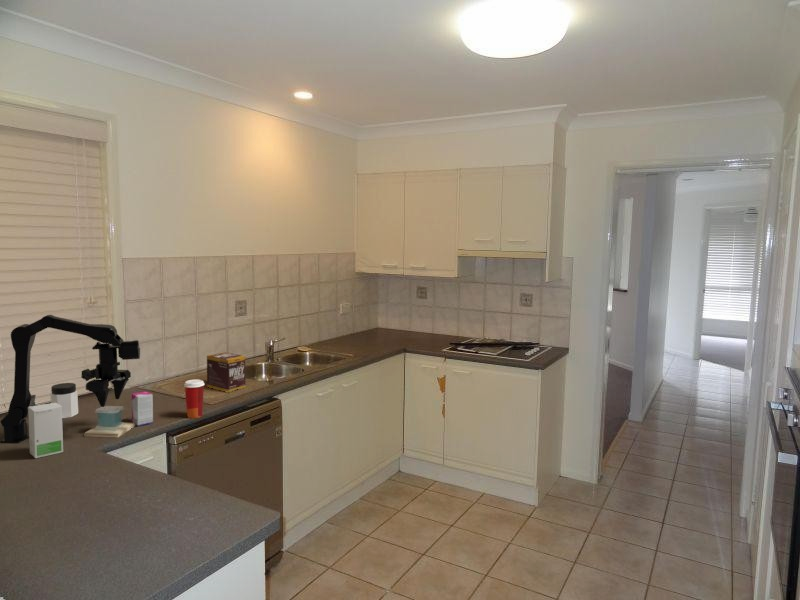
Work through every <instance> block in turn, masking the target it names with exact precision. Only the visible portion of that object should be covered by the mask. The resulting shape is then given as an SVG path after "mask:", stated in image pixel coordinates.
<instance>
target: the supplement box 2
mask: <svg viewBox="0 0 800 600" xmlns="http://www.w3.org/2000/svg"><path fill="white" fill-rule="evenodd" d="M208 387H209V388H208ZM243 387H247V386H246V356H245V355H241V354H238V353H237V354H235V353H232V352H231V353H230V352H226V351H224V352H223V351H222V352H219V353H213V354H207V355H206V388H208V389H211V388H213V389H212V390H215V389H217V390H216V391H219V390H221V391H220V392H223V391H228V392H229V391H232V390H235V389H239V388H243Z"/></svg>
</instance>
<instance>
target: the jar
mask: <svg viewBox="0 0 800 600" xmlns="http://www.w3.org/2000/svg"><path fill="white" fill-rule="evenodd" d="M78 398H79V397H78V390H77V384H76V383H74V382H62V383H57V384H53V385H51V390H50V403H57V404H59V405H61V406H62V419H67V418H73V417H74V416H76V415H78V414H79V400H78Z"/></svg>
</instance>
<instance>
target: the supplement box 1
mask: <svg viewBox="0 0 800 600" xmlns="http://www.w3.org/2000/svg"><path fill="white" fill-rule="evenodd" d="M153 398H154V397H153V394H152V393H150V392H149V391H141V392H134V393H131V423H136V426H137V427H138V426H139V427H143V426H146V425H147V426H148V425H151V424H153V423H154V407H153V405H154V403H153V402H154V401H153ZM136 426H135V427H136Z"/></svg>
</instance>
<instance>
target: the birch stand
mask: <svg viewBox="0 0 800 600" xmlns="http://www.w3.org/2000/svg"><path fill="white" fill-rule="evenodd" d="M123 422H124V421H123ZM135 427H136V423H132V422H124V426H123V427H121V428H120V429H118V430H96V426H94V427H92V428H91V429H89V430H87V431H85V432H84V434H83V437H92V438H93V437H94V438H95V437H96V438H101V437H102V438H119V437H121V436H122V435H124V434H125V433H127V432H129V431H130V430H131V428H132V429H133V428H135Z"/></svg>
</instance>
